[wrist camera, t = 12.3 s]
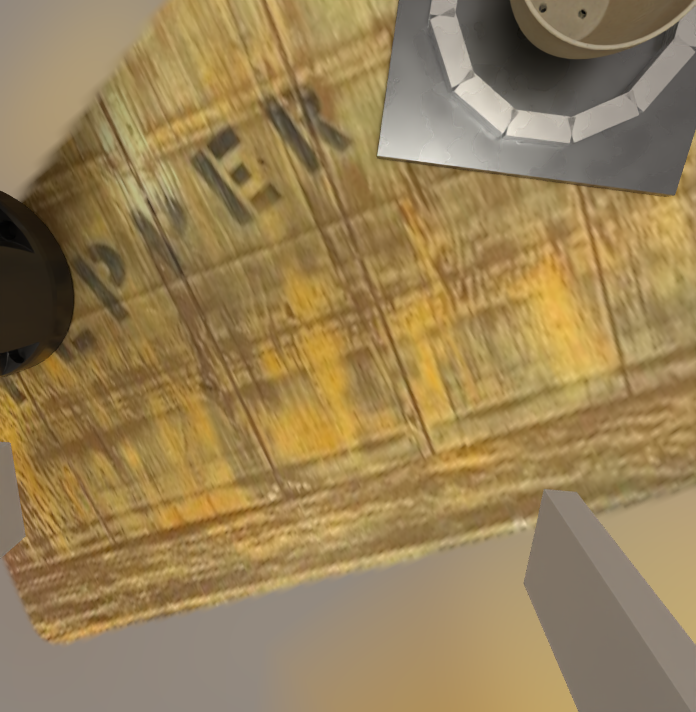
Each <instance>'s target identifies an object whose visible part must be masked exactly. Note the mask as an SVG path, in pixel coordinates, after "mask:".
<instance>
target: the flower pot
mask: <svg viewBox="0 0 696 712" xmlns="http://www.w3.org/2000/svg"><path fill="white" fill-rule="evenodd" d="M510 3H511V7H512V10H513V13H514V16H515V19H516V21H517V23H518V25H519V27H520V29H521V31H522V32H523V34H524V35H525V36H526V37H527V39H528V40H529V41H530V42H531V43H532V44H533V45H535V46H536V47H537V48H539V49H540V50H542V51H544V52H546V53H548V54H551V55H553V56H557V57H561V58H567V59H590V58H597V57H602V56H607V55H611V54H615V53H618V52H621V51H624V50H627V49H630V48H632V47H634V46H637V45H639V44H641V43H643V42H646V41H648V40H650V39H651V38H653V37H655V36H657V35H659V34H661V33H663V32H664V31H666V30H667V29H669V28H670V27H672V26H673V25H674V24H676V23H677V22H678V21H679V20H681V19H682V18H683V17H684V16H685V15H686V14H687V13H688V12H689V11H690V10H691V9H692V8H693V7H694V6H695V5H696V0H510ZM542 9H546V11H545V12H542V13H541V10H542ZM581 10H583V11H585V13H586V14H582V13H581Z"/></svg>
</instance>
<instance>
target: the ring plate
mask: <svg viewBox="0 0 696 712" xmlns="http://www.w3.org/2000/svg"><path fill="white" fill-rule="evenodd" d="M545 11H546V9H542V10H541V13H542V12H545ZM581 13H582V14H586V13H585V11H583V10H581ZM695 130H696V5H695V6H694V7H693V8H692V9H691V10H690V11H689V12H688V13H687V14H686V15H685V16H684V17H683V18H682V19H681V20H679V21H678V22H677V23H676V24H674V25H673V26H672V27H670V28H669V29H667V30H666V31H664V32H663V33H661V34H659V35H657V36H655V37H653V38H651V39H650V40H648V41H646V42H643V43H641V44H639V45H637V46H634V47H632V48H630V49H627V50H624V51H621V52H618V53H615V54H611V55H607V56H602V57H597V58H590V59H567V58H561V57H557V56H553V55H551V54H548V53H546V52H544V51H542V50H540V49H539V48H537V47H536V46H535V45H533V44H532V43H531V42H530V41H529V40H528V39H527V37H526V36H525V35H524V34H523V32H522V31H521V29H520V27H519V25H518V23H517V21H516V19H515V16H514V13H513V10H512V7H511V3H510V0H399V5H398V12H397V19H396V26H395V33H394V40H393V47H392V54H391V62H390V69H389V76H388V83H387V90H386V97H385V104H384V111H383V119H382V126H381V133H380V140H379V147H378V154H377V158H380V159H387V160H395V161H402V162H410V163H417V164H425V165H432V166H440V167H447V168H455V169H462V170H470V171H477V172H485V173H492V174H500V175H507V176H515V177H522V178H530V179H537V180H545V181H552V182H560V183H567V184H575V185H582V186H590V187H597V188H605V189H612V190H620V191H627V192H634V193H642V194H649V195H657V196H664V197H667V196H674V195H675V193H676V190H677V187H678V184H679V180H680V177H681V174H682V171H683V168H684V165H685V162H686V158H687V155H688V152H689V149H690V146H691V143H692V139H693V136H694V133H695Z"/></svg>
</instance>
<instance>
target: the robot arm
mask: <svg viewBox="0 0 696 712" xmlns="http://www.w3.org/2000/svg"><path fill="white" fill-rule="evenodd" d="M72 311H73V288H72V281H71V276H70V272H69V269H68V266H67V263H66V260H65V258H64V255H63V253H62V251H61V249H60V247H59V245H58V243H57V242H56V240H55V238H54V237H53V235H52V234H51V232H50V231H49V230H48V228H47V227H46V226H45V225H44V224H43V222H42V221H41V220H40V219H39V218H38V217H37V216H36V215H35V214H34V213H33V212H32V211H31V210H30V209H28V208H27V207H26V206H25V205H23V204H22V203H21V202H19V201H18V200H16V199H15V198H13V197H11V196H10V195H8V194H6V193H4V192H2V191H0V377H5V376H8V375H11V374H14V373H17V372H20V371H22V370H25V369H28V368H30V367H33V366H35V365H37V364H39V363H40V362H42V361H44V360H45V359H46V358H48V357H49V356H50V355H51V354H52V353H53V352H54V351H55V350H56V349H57V347H58V346H59V345H60V343H61V342H62V340H63V339H64V337H65V335H66V332H67V330H68V327H69V324H70V321H71V317H72ZM24 537H25V530H24V524H23V518H22V511H21V505H20V499H19V493H18V487H17V480H16V474H15V468H14V462H13V455H12V449H11V443H9V442H0V558H2V557H3V556H4V555H5V554H6V553H7V552H8V551H9V550H11V549H12V548H13V547H14V546H15V545H16V544H17V543H19V542H20V541H21V540H22V539H23V538H24ZM524 585H525V588H526V590H527V592H528V595H529V597H530V599H531V602H532V604H533V606H534V609H535V611H536V613H537V616H538V618H539V620H540V623H541V625H542V627H543V630H544V632H545V635H546V637H547V639H548V642H549V644H550V646H551V649H552V651H553V653H554V656H555V658H556V660H557V662H558V665H559V667H560V670H561V672H562V674H563V676H564V679H565V681H566V683H567V686H568V688H569V691H570V693H571V695H572V698H573V700H574V702H575V705H576V707H577V709H578V711H579V712H696V645H695V644H694V643H693V641H692V640H691V638H690V637H689V636H688V635H687V633H686V632H685V631H684V630H683V629H682V627H681V626H680V625H679V623H678V622H677V620H676V619H675V618H674V617H673V615H672V614H671V613H670V612H669V610H668V609H667V608H666V606H665V605H664V604H663V603H662V601H661V600H660V599H659V598H658V596H657V595H656V594H655V592H654V591H653V590H652V588H651V587H650V586H649V585H648V584H647V582H646V581H645V579H644V578H643V577H642V576H641V574H640V573H639V572H638V570H637V569H636V568H635V567H634V565H633V564H632V563H631V561H630V560H629V559H628V558H627V556H626V555H625V554H624V552H623V551H622V550H621V549H620V547H619V546H618V545H617V543H616V542H615V541H614V540H613V538H612V537H611V536H610V535H609V533H608V532H607V531H606V529H605V528H604V527H603V525H602V524H601V523H600V522H599V520H598V519H597V518H596V517H595V515H594V514H593V513H592V511H591V510H590V509H589V508H588V506H587V505H586V504H585V502H584V501H583V500H582V499H581V497H580V496H579V495H578V493H577V492H570V491H559V490H547V489H544V491H543V496H542V501H541V505H540V510H539V515H538V519H537V524H536V528H535V533H534V538H533V542H532V547H531V552H530V556H529V562H528V565H527V570H526V575H525V579H524Z"/></svg>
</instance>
